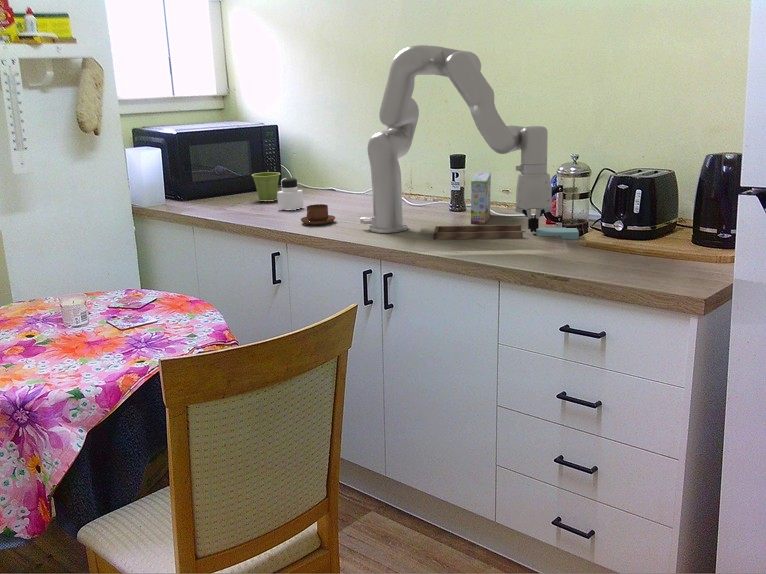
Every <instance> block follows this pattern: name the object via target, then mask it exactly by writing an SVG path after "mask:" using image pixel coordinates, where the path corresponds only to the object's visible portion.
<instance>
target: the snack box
mask: <svg viewBox="0 0 766 574" xmlns="http://www.w3.org/2000/svg"><path fill="white" fill-rule="evenodd" d="M491 177H492V172H476V173H475V175H474V176H473V178H472V179H471V182H470V183H471V184H470V185H471V187H470V191H471V192H470V225H487V223H488V221H489V219H490V216H491V187H492V186H491V185H492V184H491V183H492V182H491V181H492V180H491V179H492V178H491Z"/></svg>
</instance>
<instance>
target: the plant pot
mask: <svg viewBox="0 0 766 574" xmlns="http://www.w3.org/2000/svg"><path fill="white" fill-rule="evenodd" d="M280 176H281V173H280V172H275V171H273V172H272V171H271V172H269V171H267V172H266V171H265V172H258V173H256V172H255V173H253V174H251V177H252V178H253V182H254V185H255V187H256V188H255V189H256V192H257V198H258V200H275V199H277V200H278V197H277V192H279V191H278V190H279V180H280Z"/></svg>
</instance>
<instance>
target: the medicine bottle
mask: <svg viewBox="0 0 766 574" xmlns="http://www.w3.org/2000/svg"><path fill="white" fill-rule="evenodd" d="M280 184H281V191H280V190H279V191H277V205H278V206H277V208H279V209H291V210H294V209H297V208H302V207H304V206H305V205H304V194H303V193H304V191H303V189H298V179H297V178H295V177H287V178H286V177H285V178H283V179H281V180H280ZM304 208H305V207H304ZM279 209H278V210H279ZM302 209H303V208H302Z"/></svg>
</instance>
